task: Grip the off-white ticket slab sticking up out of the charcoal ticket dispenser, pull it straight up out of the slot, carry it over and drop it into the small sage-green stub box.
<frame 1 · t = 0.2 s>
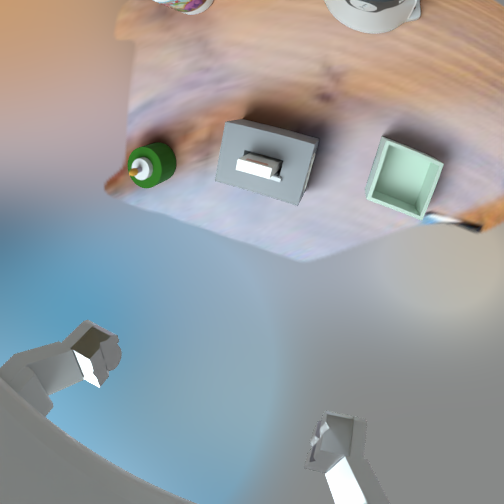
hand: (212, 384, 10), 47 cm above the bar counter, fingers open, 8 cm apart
ticket: (271, 156, 51), point 1 cm above the bar counter, touching dispenser
stub box: (399, 173, 47), on the bar counter
dispenser: (273, 154, 52), on the bar counter
candle: (159, 161, 60), on the bar counter
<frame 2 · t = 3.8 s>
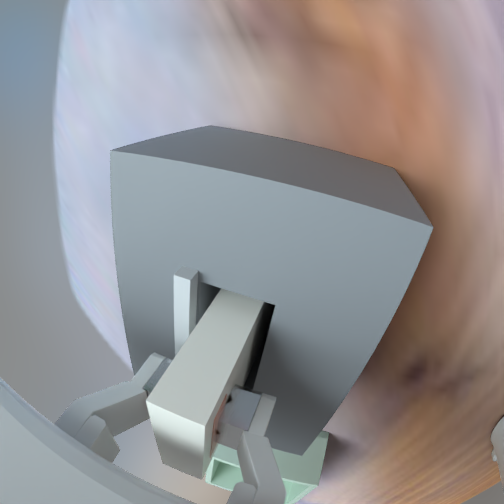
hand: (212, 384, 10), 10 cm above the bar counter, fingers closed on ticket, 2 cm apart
ticket: (269, 271, 17), point 2 cm above the bar counter, touching dispenser, gripper
stub box: (270, 440, 29), on the bar counter
dispenser: (275, 259, 18), on the bar counter
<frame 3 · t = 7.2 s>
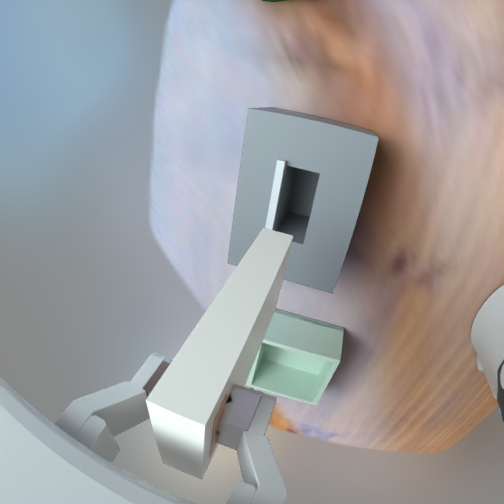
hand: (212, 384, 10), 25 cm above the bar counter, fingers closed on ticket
ticket: (269, 272, 17), point 17 cm above the bar counter, touching gripper
stub box: (298, 343, 41), on the bar counter
dispenser: (307, 182, 31), on the bar counter
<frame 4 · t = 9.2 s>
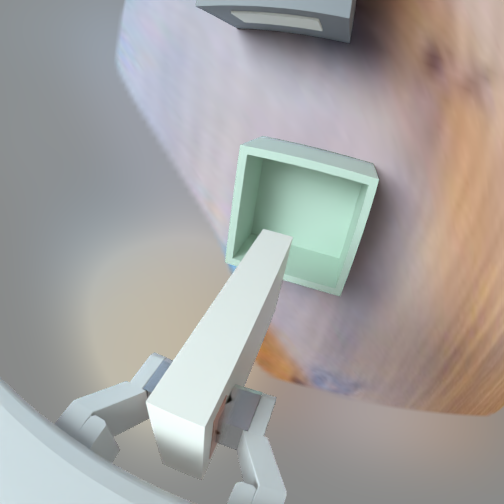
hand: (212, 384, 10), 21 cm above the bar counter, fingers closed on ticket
ticket: (269, 272, 17), point 13 cm above the bar counter, touching gripper
stub box: (306, 200, 28), on the bar counter
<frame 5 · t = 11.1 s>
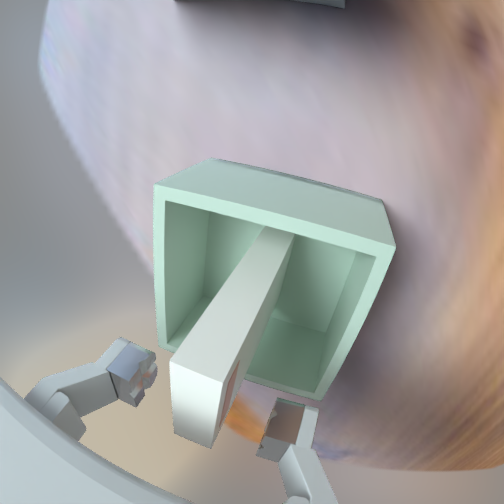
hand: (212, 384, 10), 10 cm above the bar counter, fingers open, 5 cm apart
ticket: (275, 260, 18), point 1 cm above the bar counter, touching stub box
stub box: (278, 253, 19), on the bar counter
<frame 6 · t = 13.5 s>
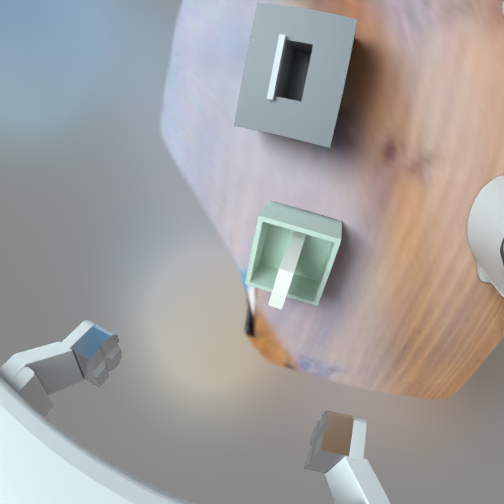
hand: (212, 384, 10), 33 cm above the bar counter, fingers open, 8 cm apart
ticket: (296, 246, 42), point 1 cm above the bar counter, touching stub box
stub box: (297, 243, 43), on the bar counter
dispenser: (304, 77, 32), on the bar counter
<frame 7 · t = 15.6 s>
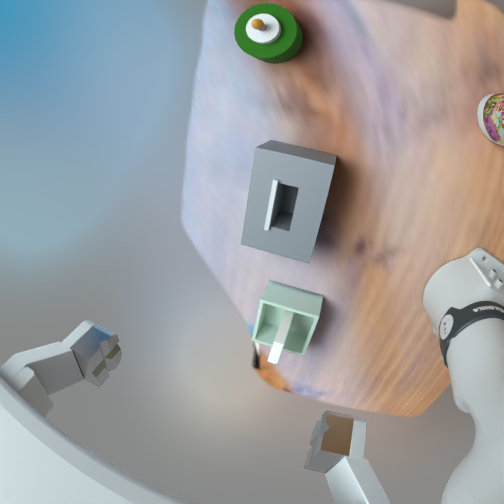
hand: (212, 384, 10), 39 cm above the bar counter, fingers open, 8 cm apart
ticket: (289, 311, 56), point 1 cm above the bar counter, touching stub box
stub box: (290, 308, 57), on the bar counter
dispenser: (294, 191, 46), on the bar counter
candle: (274, 38, 36), on the bar counter
milk bottle: (495, 118, 31), on the bar counter
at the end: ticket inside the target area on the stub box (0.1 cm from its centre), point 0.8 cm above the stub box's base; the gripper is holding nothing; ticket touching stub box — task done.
